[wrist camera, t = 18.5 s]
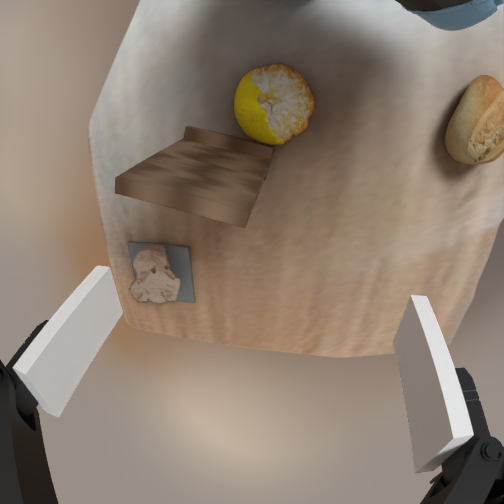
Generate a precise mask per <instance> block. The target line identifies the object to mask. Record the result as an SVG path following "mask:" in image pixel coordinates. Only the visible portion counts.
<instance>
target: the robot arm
mask: <svg viewBox="0 0 504 504" xmlns="http://www.w3.org/2000/svg"><path fill="white" fill-rule="evenodd" d="M395 1H397V2H398V3H400V4H401V5H402V6H403V8H405V9H406V10H407V11H410V12H411V13H414V14H417V15H418V16H420V17H421V18H423V19H424V20H425V21H427V22H428V23H430V24H431V25H433V26H434V27H437V28H440V29H443V30H448V31H454V30H461V29H465V28H468V27H471V26H473V25H475V24H477V23H479V22H481V21H483V20H485V19H486V18H488V17H489V16H491V15H492V14H493V13H494V12H496V11H497V6H498V5H500V4H503V3H504V0H395ZM122 314H123V311H122V307H121V304H120V301H119V297H118V294H117V290H116V287H115V283H114V280H113V276H112V272H111V268H110V267H105V266H96V267H95V268H94V269H93V271H92V272H91V273H90V274H89V275H88V276H87V277H86V278H85V280H83V282H82V283H81V284H80V285H79V286H78V287H77V288H76V289H75V291H74V292H73V293H72V294H71V295H70V297H69V298H68V299H67V300H66V301H65V302H64V303H63V305H62V306H61V307H60V308H59V309H58V311H57V312H56V313H55V314H54V315H53V317H52V318H51V319H50V320H46V321H44V322H43V323H41V324H40V325H39V326H37V327H36V328H35V330H34V331H33V332H32V333H31V334H30V337H28V338H27V339H26V341H25V343H23V345H22V346H21V347H20V348H19V350H18V351H17V352H16V354H15V355H14V356H13V358H12V359H11V360H10V362H9V363H8V364H7V366H6V367H5V366H4V364H3V363H2V362H1V360H0V504H58V501H57V497H56V494H55V490H54V486H53V483H52V479H51V475H50V471H49V467H48V462H47V458H46V453H45V448H44V443H43V437H42V431H41V425H40V418H39V413H38V410H37V408H36V407H37V405H38V404H40V405H41V407H42V408H43V409H44V410H45V411H46V412H48V413H50V414H52V415H54V416H56V417H59V416H60V415H61V413H62V411H63V409H64V408H65V405H66V404H67V402H68V401H69V399H70V397H71V395H72V394H73V392H74V390H75V389H76V387H77V385H78V384H79V382H80V380H81V378H82V377H83V375H84V374H85V372H86V370H87V368H88V367H89V365H90V363H91V362H92V360H93V359H94V357H95V356H96V354H97V353H98V351H99V349H100V348H101V346H102V345H103V343H104V342H105V340H106V338H107V337H108V335H109V334H110V332H111V330H112V329H113V327H114V326H115V325H116V323H117V322H118V320H119V318H120V317H121V315H122ZM393 345H394V349H395V354H396V358H397V363H398V367H399V372H400V377H401V382H402V387H403V393H404V398H405V403H406V409H407V416H408V422H409V429H410V436H411V443H412V451H413V459H414V469H415V473H421V472H428V471H434V470H435V469H436V468H437V467H438V466H440V465H442V472H441V473H440V474H438V475H437V476H436V477H435V478H433V479H432V480H431V481H430V483H431V484H432V483H433V482H434V484H433V486H432V487H431V488H430V490H429V491H428V493H427V494H426V496H425V497H424V499H423V500H422V502H421V503H420V504H504V447H503V446H502V444H501V442H500V441H499V440H498V439H496V438H494V437H491V436H490V433H489V430H488V426H487V423H486V419H485V416H484V412H483V409H482V406H481V402H480V401H479V396H478V393H477V391H476V387H475V384H474V382H473V378H472V377H471V375H470V374H469V373H468V372H467V370H466V369H465V368H454V365H453V363H452V360H451V357H450V354H449V351H448V348H447V346H446V343H445V340H444V338H443V335H442V332H441V330H440V327H439V325H438V322H437V320H436V317H435V315H434V313H433V310H432V308H431V305H430V303H429V301H428V298H427V296H415V295H411V296H410V299H409V302H408V304H407V307H406V310H405V312H404V315H403V318H402V320H401V323H400V325H399V328H398V330H397V333H396V335H395V338H394V340H393Z"/></svg>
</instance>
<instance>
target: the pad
mask: <svg viewBox="0 0 504 504" xmlns="http://www.w3.org/2000/svg"><path fill="white" fill-rule="evenodd" d="M152 245H163V246H164V247H165V250H166V254H167V259H168V261H169V264H170V270H171V271H172V273H173V274H174V275H175V277H176V278H178V279H180V289H179V293H178V298H177V301H184V302H192V303H195V293H194V285H193V276H192V268H191V259H190V249H189V246H178V245H166V244H154V243H142V242H130V241H129V242H128V248H129V253H130V258H131V262H132V267H133V263H134V259H135V257H136V255H137V253H138V252H139V251H140V250H142V249H144V248H146V247H149V246H152ZM133 271H134V276H135V278H136V276H137V273H136V271H135V269H134V267H133Z"/></svg>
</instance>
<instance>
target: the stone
mask: <svg viewBox="0 0 504 504" xmlns="http://www.w3.org/2000/svg"><path fill="white" fill-rule="evenodd" d="M133 267H134V269H135V271H136V273H137V276H136V278H135V280H134V281H133V282H132V283H131V286H130V288H129V290H130V292H131V293H132V295H133V296H134V297H135V298H136V299H137V301H148V300H151V301H152V302H153V303H158V304H159V303H163V302H166V301H167V300H168V301H171V300H172V301H176V300H177V298H178V293H179V289H180V279H178V278H176V277H175V275H174V274H173V273H172V271H171V270H170V264H169V261H168V259H167V254H166V250H165V247H164V246H163V245H152V246H149V247H146V248H144V249H142V250H140V251H139V252H138V253H137V255H136V257H135V259H134V263H133Z"/></svg>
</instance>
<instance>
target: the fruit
mask: <svg viewBox="0 0 504 504" xmlns="http://www.w3.org/2000/svg"><path fill="white" fill-rule="evenodd" d="M314 108H315V103H314V96H313V93H312V91H311V90H310V89H309V86H308V84H307V82H306V81H305V79H304V78H303V76H302V75H301V74H300V73H298V72H296V71H294V70H293V69H292V68H291V67H289V66H287V65H284V64H280V63H274V64H272V65H270V66H268V65H266V66H261V67H258V68H256V69H252V70H251V71H249V72H248V73H247V74H245V75H244V76H243V77H242V79H241V80H240V82H239V84H238V87H237V90H236V92H235V97H234V113H235V117H236V120H237V122H238V124H239V125H240V127H241V128H242V130H243V131H244V132H245V133H246V134H247V135H248V136H249V137H250V138H252V139H254V140H256V141H259V142H262V143H266V144H272V145H283V144H284V143H286V141H288V140H290V139H291V138H292V137H293V135H296V136H297V135H298V133H300V132H302V131H304V130H305V129H306V128H307V126H308V122H309V121H308V118H309V117H310V116H311V114H312V113H313V111H314Z"/></svg>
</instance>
